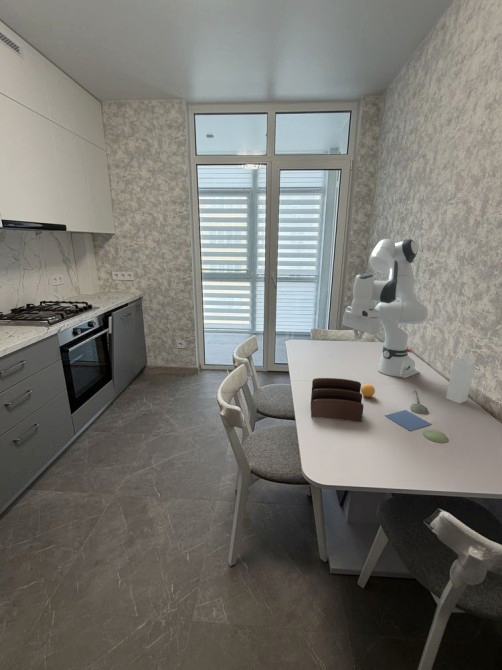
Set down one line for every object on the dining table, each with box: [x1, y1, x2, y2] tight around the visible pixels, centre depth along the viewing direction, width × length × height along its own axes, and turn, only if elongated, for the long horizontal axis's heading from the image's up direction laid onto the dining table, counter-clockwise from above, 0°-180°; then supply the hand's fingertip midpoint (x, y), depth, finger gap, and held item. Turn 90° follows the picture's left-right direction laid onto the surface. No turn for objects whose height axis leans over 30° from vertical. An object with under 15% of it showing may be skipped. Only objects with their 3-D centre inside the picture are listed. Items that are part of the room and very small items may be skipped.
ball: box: [360, 383, 376, 398], centre depth 142 cm, size 6×6×6 cm
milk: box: [445, 352, 476, 404], centre depth 138 cm, size 6×6×22 cm
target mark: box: [384, 409, 433, 432], centre depth 124 cm, size 12×12×1 cm
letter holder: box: [310, 377, 364, 423], centre depth 126 cm, size 10×20×14 cm, turn 81°
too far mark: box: [422, 429, 449, 444], centre depth 113 cm, size 8×8×1 cm
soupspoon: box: [410, 390, 429, 416], centre depth 138 cm, size 22×3×7 cm
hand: (357, 338), depth 145 cm, fingers closed
